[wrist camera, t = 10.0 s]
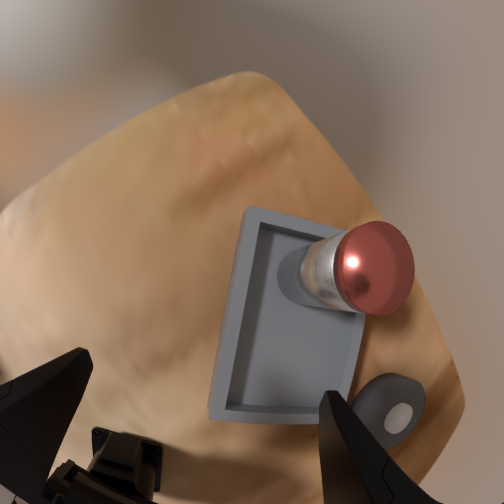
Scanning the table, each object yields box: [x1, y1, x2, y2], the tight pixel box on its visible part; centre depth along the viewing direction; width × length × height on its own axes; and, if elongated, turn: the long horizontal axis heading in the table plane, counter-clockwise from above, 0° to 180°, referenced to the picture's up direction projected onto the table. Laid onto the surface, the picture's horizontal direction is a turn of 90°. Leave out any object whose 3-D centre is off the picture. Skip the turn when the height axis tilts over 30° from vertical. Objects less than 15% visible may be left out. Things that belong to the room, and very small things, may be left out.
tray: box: [208, 205, 366, 424], centre depth 21 cm, size 16×11×2 cm
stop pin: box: [277, 221, 415, 315], centre depth 17 cm, size 4×4×10 cm
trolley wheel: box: [351, 373, 425, 450], centre depth 21 cm, size 8×8×4 cm
